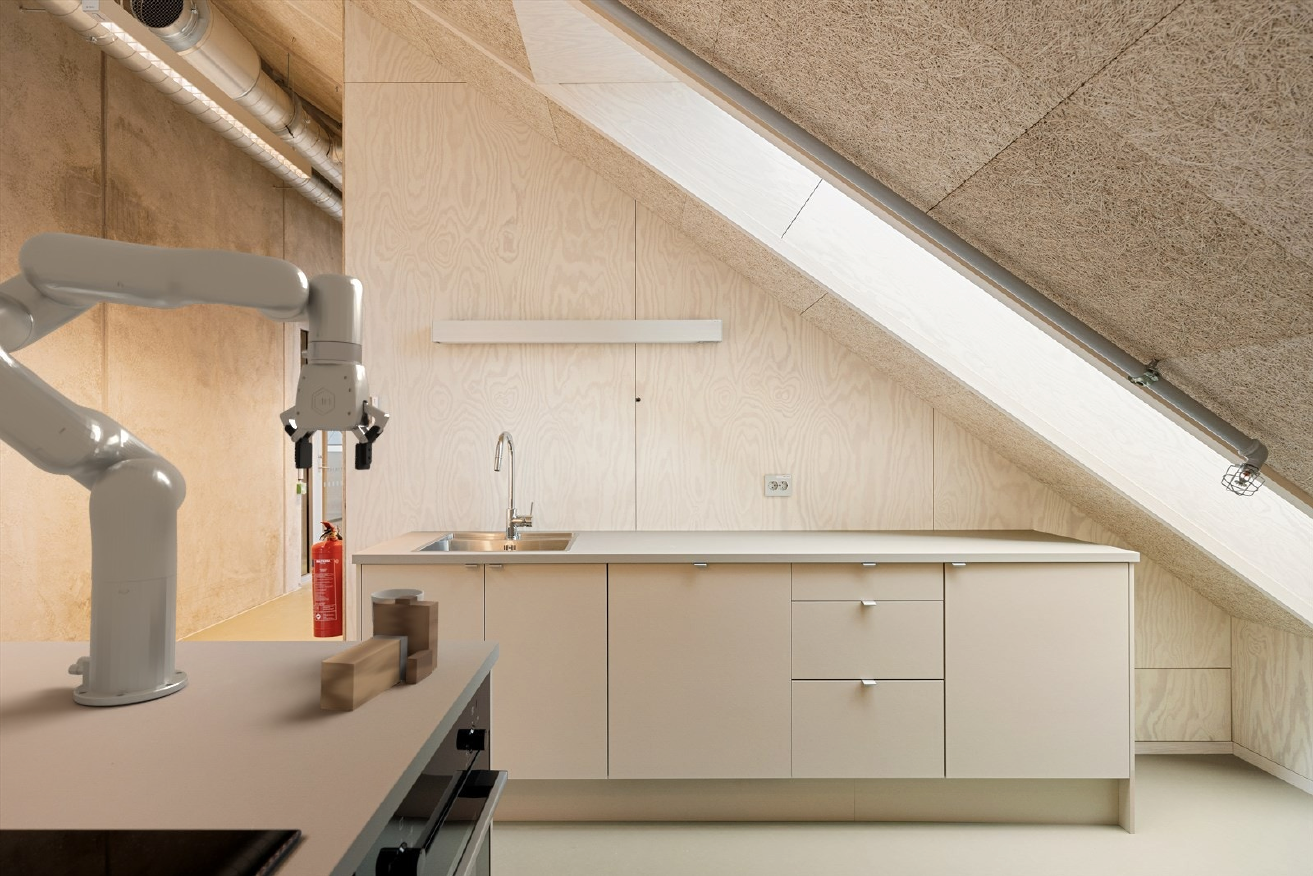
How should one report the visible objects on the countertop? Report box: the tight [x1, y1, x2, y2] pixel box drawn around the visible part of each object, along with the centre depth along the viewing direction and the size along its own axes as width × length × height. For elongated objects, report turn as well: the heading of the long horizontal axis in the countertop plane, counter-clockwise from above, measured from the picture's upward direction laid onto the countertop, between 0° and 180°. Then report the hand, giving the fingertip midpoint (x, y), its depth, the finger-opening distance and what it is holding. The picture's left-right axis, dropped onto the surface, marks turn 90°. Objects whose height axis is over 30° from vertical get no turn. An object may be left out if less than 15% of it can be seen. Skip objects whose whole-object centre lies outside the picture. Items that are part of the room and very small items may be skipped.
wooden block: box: [320, 635, 408, 712], centre depth 100 cm, size 5×14×6 cm, turn 172°
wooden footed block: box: [372, 595, 439, 684], centre depth 108 cm, size 10×8×11 cm
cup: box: [370, 588, 425, 623], centre depth 118 cm, size 8×8×10 cm
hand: (333, 469), depth 110 cm, fingers open, 9 cm apart
